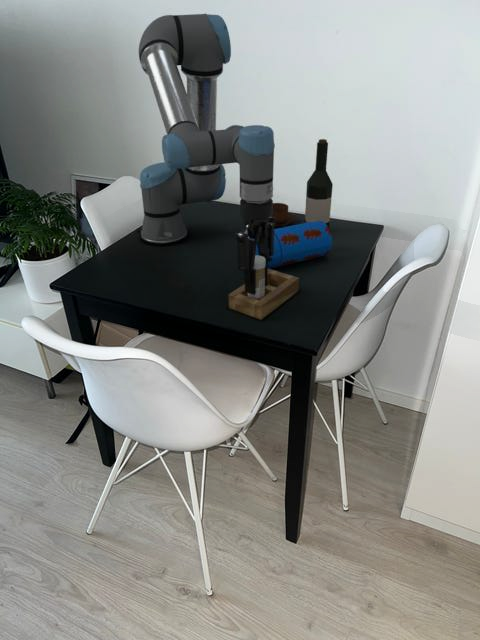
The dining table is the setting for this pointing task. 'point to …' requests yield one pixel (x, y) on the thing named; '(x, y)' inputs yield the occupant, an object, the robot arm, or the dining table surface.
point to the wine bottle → (319, 188)
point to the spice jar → (259, 277)
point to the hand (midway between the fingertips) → (256, 288)
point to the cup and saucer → (282, 215)
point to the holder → (275, 295)
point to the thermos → (300, 243)
